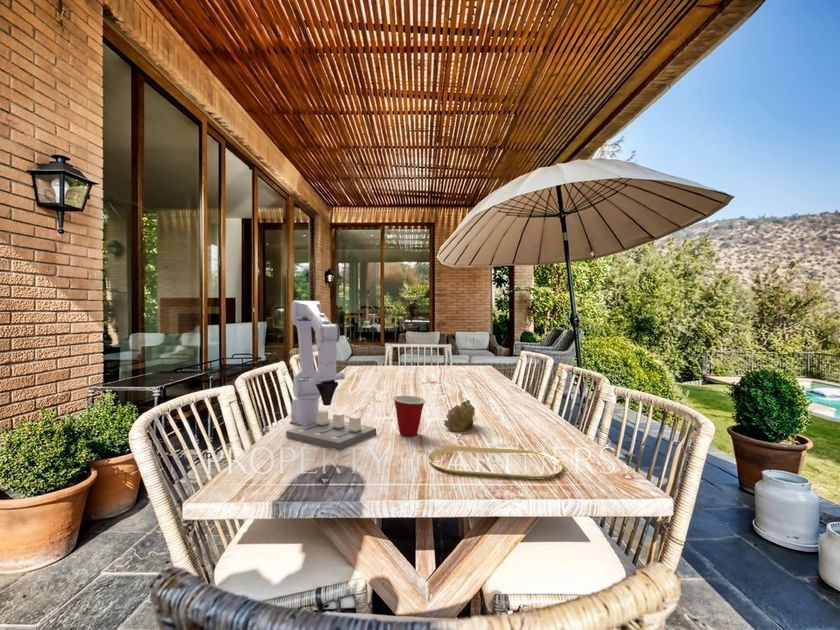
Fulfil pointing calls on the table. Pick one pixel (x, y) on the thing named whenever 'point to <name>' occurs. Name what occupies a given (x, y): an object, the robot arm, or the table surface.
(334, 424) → the switch
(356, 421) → the right switch
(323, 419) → the left switch
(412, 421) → the plastic cup
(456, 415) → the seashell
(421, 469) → the table surface
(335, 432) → the switch panel
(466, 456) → the table surface
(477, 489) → the table surface
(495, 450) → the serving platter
